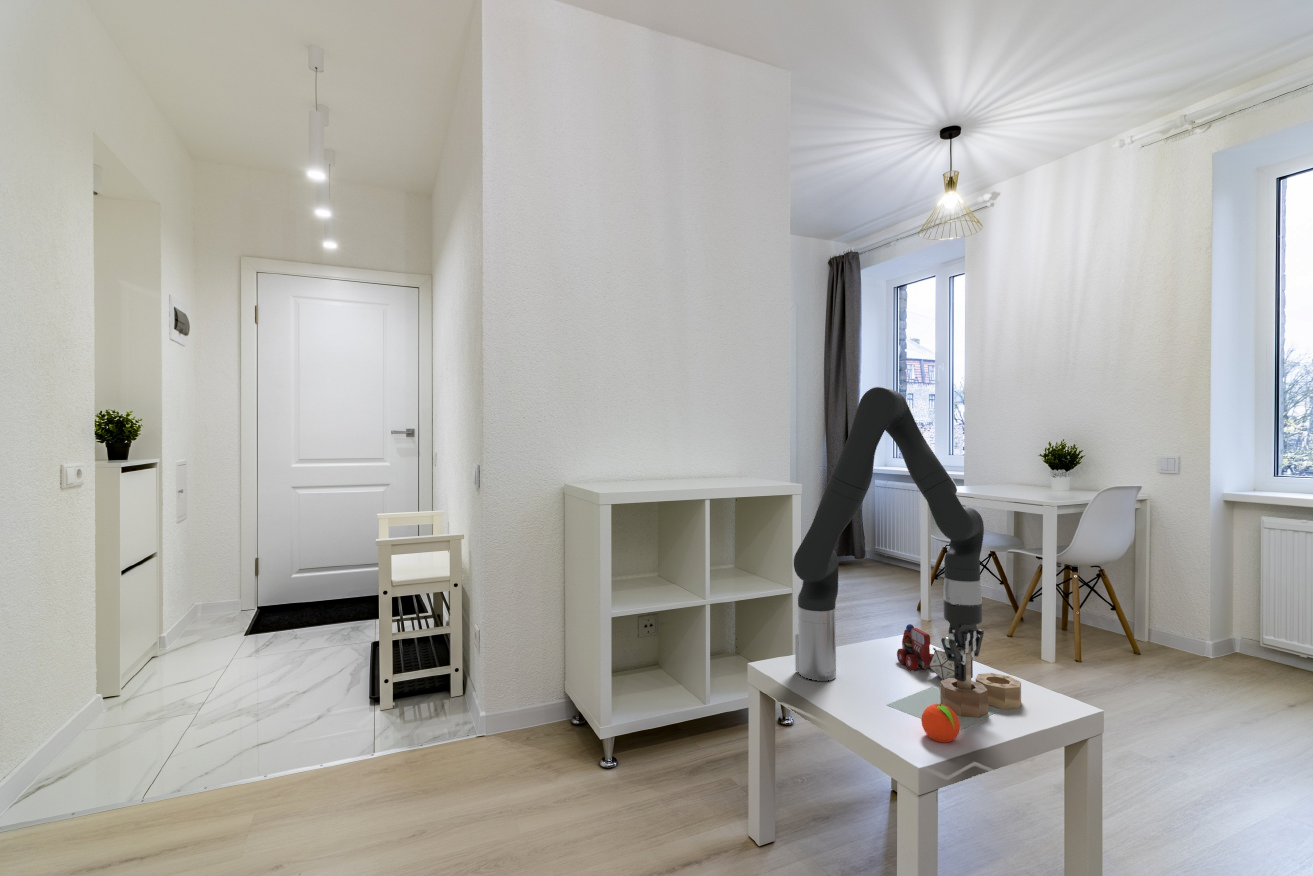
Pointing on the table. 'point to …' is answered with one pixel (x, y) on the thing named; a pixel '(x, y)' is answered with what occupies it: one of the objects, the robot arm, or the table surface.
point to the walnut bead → (964, 698)
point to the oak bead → (1001, 690)
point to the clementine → (940, 723)
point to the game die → (942, 665)
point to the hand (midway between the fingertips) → (963, 678)
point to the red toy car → (915, 649)
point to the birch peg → (966, 684)
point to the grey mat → (931, 696)
